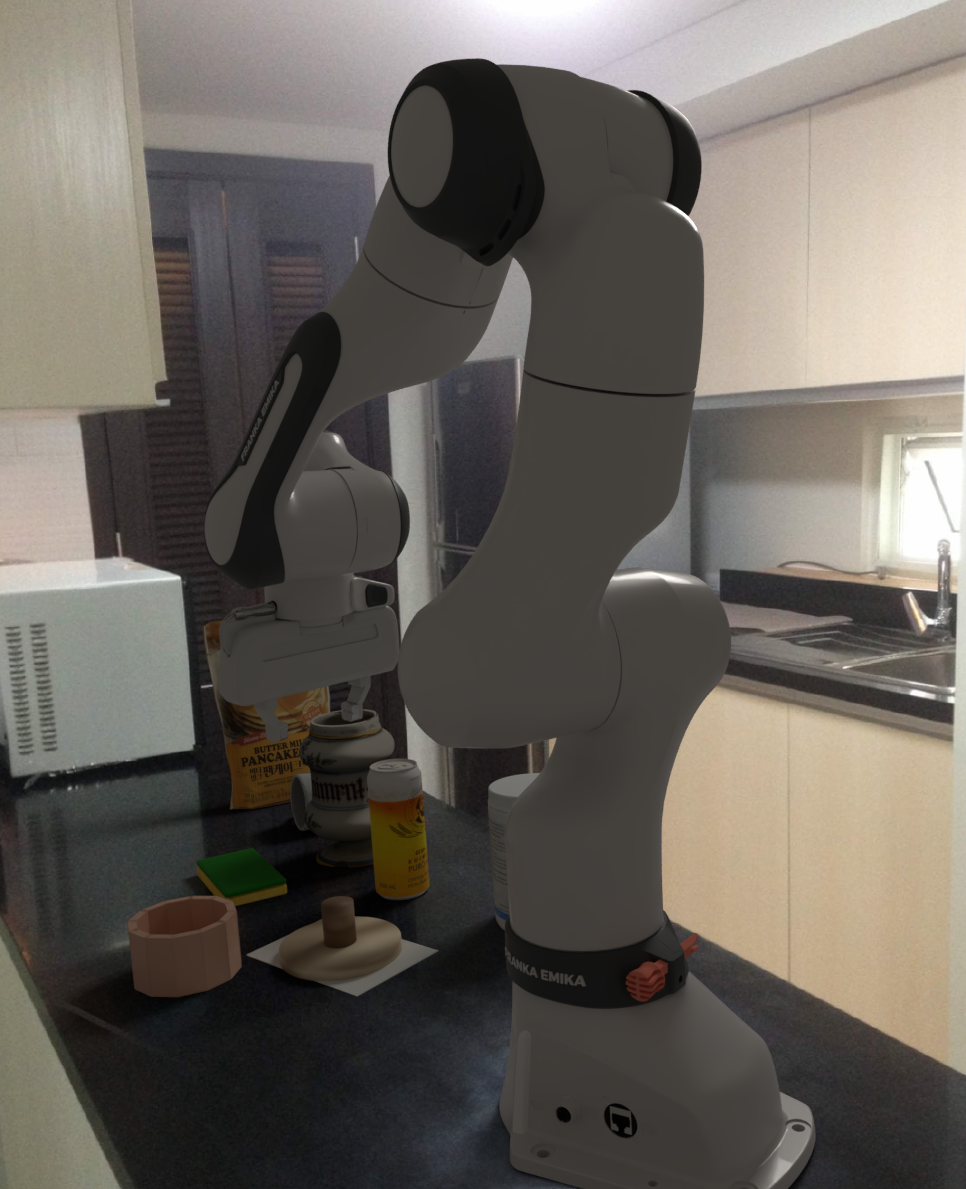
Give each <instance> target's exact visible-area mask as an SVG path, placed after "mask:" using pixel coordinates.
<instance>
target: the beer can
mask: <svg viewBox="0 0 966 1189" xmlns="http://www.w3.org/2000/svg"><path fill="white" fill-rule="evenodd" d="M422 778H423V777H422V771H421V769H420V767H419V766H418V762H417V761H416V760H414V759H409V758H389V759H386V760H383V761H379V762H376V763H374V764H372V765H371V766H370V770H369V773H368V775H367V785H368V798H369V810H370V823H371V836H372V848H373V861H374V864H373V872H374V881H375V882H374V884H375V886H374V887H375V892H376V893H377V894H378V895H379V896H381V897H382V898H384V899H386V900H390V901H405V900H406V901H407V900H412V899H415V898H418V897H420V896H422V895H423V894H424V893H425V892H426V891H427V890H428V888H429V887H430V873H429V860H428V859H429V858H428V845H427V833H426V820H425V819H426V818H425V804H424V803H425V802H424V791H423V779H422Z"/></svg>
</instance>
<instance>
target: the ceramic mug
mask: <svg viewBox="0 0 966 1189" xmlns="http://www.w3.org/2000/svg"><path fill="white" fill-rule="evenodd" d="M290 798H291V802H290V807H291V812H292V816H293V819H294V820H293V821H294V823H295V825H296V826H297V829H299V831H301V832H305V831H311V830H310V829H309V828H308V827H307V826H306V824H305V820H304V812H305V809H306V807H307V805H308V804H309V802H310V801H311V800H312V783H311V773H304V774H296V775H295V776H294V777H293V779H292V782H291V789H290Z"/></svg>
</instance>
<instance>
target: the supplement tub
mask: <svg viewBox="0 0 966 1189" xmlns="http://www.w3.org/2000/svg"><path fill="white" fill-rule="evenodd" d="M540 773H541V772H534V773H533V772H532V773H522V774H513V775H510V776H505V777H501V778H499V779H497V780H494V781H493V782H491V783H490V784H489V785H488V792H487V793H488V799H487V811H488V812H487V813H488V815H487V816H488V827H489V829H488V830H489V844H490V857H491V870H492V874H491V875H492V883H493V884H492V886H493V901H494V913H495V921H496V923H497V925H498V926H499V927H500V928H501V929H502V930H503V931H505V922H506V919H507V917H508V916H509V915H510V913H509V897H508V881H507V865H506V849H505V834H504V832H505V825H506V820H507V817H508V814H509V811H510V809H511V807H512V805H513V803H514V802H515V800H516V799H517V798H518V797H519V795H520V794H521V793H522V792H523V791H524V790H525V789H526V788H527V787H528V786H529V785H530V784H531V783H532V782H533V781H534V780H535V779H536V778H537V776H538V775H539V774H540Z"/></svg>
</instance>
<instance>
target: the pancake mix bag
mask: <svg viewBox="0 0 966 1189" xmlns="http://www.w3.org/2000/svg"><path fill="white" fill-rule="evenodd" d="M250 617H251V616H250ZM223 620H224V619H218V620H215V621H214V620H213V621H209V622H208V623H207V624H205V625H204V626H202V627H201V632H202V637H203V638H202V639H203V644H204V645H203V646H204V651H205V657H206V662H207V664H208V665H207V666H208V668H209V673H210V679H211V684H212V691H213V695H214V701H215V704H216V708H217V712H218V716H219V719H220V723H221V725H222V732H223V733H222V734H223V739H224V740H223V741H224V748H225V756H226V759H227V762H228V766H229V771H230V778H231V794H230V795H231V796H230V804H229V810H239V809H240V810H255V809H260V808H267V807H271V806H276V805H278V806H279V805H282V804H288V803H291V798H290V789H291V782H292V779H293V777H294V776H295V775H296V774H304V773H310V767H308V766H307V765H305V764H304V763H303V762H302V760H301V758H300V755H299V748H300V745H301V743H302V742H303V740H304V739H305V738H306V737H307V736H308V735H309V730H310V722H311V720H312V719H313V718H314V717H316V716H319V715H322V714H325V713H329V712H331V694H330V686H326V687H322V688H318V689H314V690H310V691H305V692H301V693H297V694H293V695H289V696H285V697H281V698H278V708H277V709H273V711H274V713H275V714H276V716H277V718H278V720H280V721H281V722H287V723H288V731H287V733H288V739H285V740H282V741H279V742H275V743H274V742H271V741H268V740H267V738H266V727H265V723H264V722H263V720H262V719H261V717H260V716H259V714H258V713H257V712H256V710H255V709H254V704H252V705H248V706H240V705H237V704H233V703H231V702H228V701H226V700H225V699H224V698H223V696H222V695H221V694H220V692H219V659H220V649H221V646H220V635H219V627H220V624H221V622H222V621H223ZM229 620H234V619H233V618H230V619H229Z"/></svg>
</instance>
